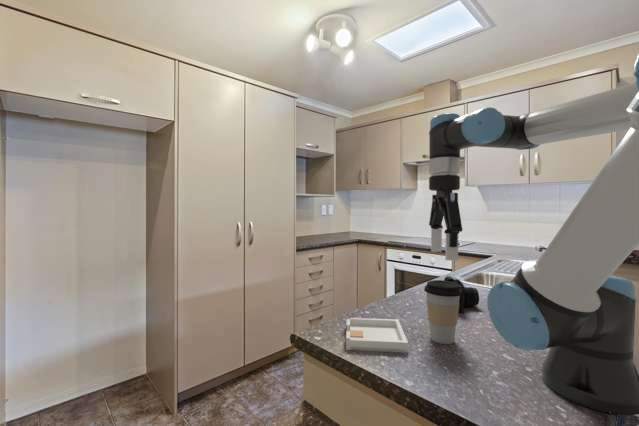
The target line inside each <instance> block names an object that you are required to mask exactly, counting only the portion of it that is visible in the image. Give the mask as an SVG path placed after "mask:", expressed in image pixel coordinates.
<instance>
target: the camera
mask: <svg viewBox="0 0 639 426" xmlns="http://www.w3.org/2000/svg"><path fill="white" fill-rule="evenodd" d="M443 281H450V282H454V283H457V284H458V285H459V288H460V289H461V290H462V295H460V298H459V311H458V314H463V313H464V306H465V307H466V306H467V307H474V306H478V305H479V303H480V294H479V291H478V289H477V288H476V287H471V286H470V287H467V286H465V285H464V284H463V282H462V281H461V280H460V278H459V279H455V278H453V277H452V276H450V275H446V277H444V280H443Z"/></svg>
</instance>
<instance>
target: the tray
mask: <svg viewBox="0 0 639 426" xmlns="http://www.w3.org/2000/svg"><path fill="white" fill-rule="evenodd" d="M345 336H346V337H345V348H346V349H345V350H346V351H361V352H383V353H385V352H386V353H403V354H405V353H406V354H408V353H409V341H408V339H407V337H406V335H405V332H404V330H403V327H402V325H401V322H400V320H399V319H396V318H395V319H391V318H367V317H366V318H364V317H350V318H346V333H345Z"/></svg>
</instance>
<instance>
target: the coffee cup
mask: <svg viewBox="0 0 639 426" xmlns="http://www.w3.org/2000/svg"><path fill="white" fill-rule="evenodd" d="M423 290H424V292H426V307H427V308H426V309H427V318H428V319H427V320H428V323H429V324H428V325H429V334H430V335H429V336H430V339H431V340H432V341H433V342H434V343H437V344H443V345H451V344H454V342H455V337H456V336H455V335H456V331H457V330H456V328H457V325H458V319H459V317H458V316H459V313H458V311H459V298H460V295H462V290H461V289H460V288H459V285H458V284H457V283H454V282H450V281H444V280H443V279H440V280H437V279H436V280H429V281H427V282H426V285H425V286H424V289H423Z"/></svg>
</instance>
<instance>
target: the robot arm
mask: <svg viewBox="0 0 639 426" xmlns="http://www.w3.org/2000/svg"><path fill="white" fill-rule="evenodd" d="M633 76H635V82H634V83H630V84H626V85H623V86H620V87H616V88H612V89H609V90H605V91H602V92H599V93H595V94H591V95H589V96H588V95H587V96H584V97H581V98H577V99H574V100H571V101H567V102H563V103H560V104H556V105H554V106H553V105H552V106H549V107H546V108H542V109H538V110H535V111H533V112H530V113H526V114H521V115H505V114H502V112H501V111H499V110H498V109H497V108H494V107H490V106H489V107H483V108H481V109H476V110H473V111H471V112H470V113H467V114H464V115H462V116H460V115H459V114H457V113H453V112H449V113H442V114H437V115H435V116H433V117H432V118H431V119H430V124H429V131H428V136H429V159H428V160H429V161H428V174H429V175H430V177H428V189H429V191H432V192H433V191H435V194H432V196H431V197H432V199H431V209H430V214H429V215H430V216H429V221H428V222H429V223H428V225H429V227H430V228H431V229H430V232H431V233H430V234H431V235H430V246H431V247H430V252H433V253H436V252H437V253H442V251H443V250H442V243H443V242H442V239H443V238H442V236H443V234H442V230H443V229H444V227H443V225H442V223H443V221H444V224H445V227H446V228H445V230H444V234H445V259H444V261H459V234H460V232H461V233H462V232H463V225H462V219H461V213H460V205H459V194H458V192H453V191H459V190H460V189H461V185H460V184H461V177H460V176H459V175H458V174H460V172H461V171H460V169H461V167H462V162H461V150H463V149H467V148H473V147H480V148H482V147H483V148H497V149H500V148H501V149H515V150H519V151H521V150H523V151H524V150H533V149H537V148H538V147H539V146H541V145H544V144H551V143H555V142H562V141H567V140H575V139H579V138H581V139H582V138H586V137H591V136H593V137H594V136H599V135H605V134H610V133H616V132H617V133H618V132H622V131H623V132H624V131H627V133H626V134H625V135H624V137H623V138H622V139H621V141H620V142H619V143H618V146H617V147H616V148H615V150H614V151H613V152H612V154H611V155H610V157H609V158H608V160H607V161H606V162H605V164H604V165H603V166H602V168H601V170H600V171H599V173H597V174H596V175H597V176H595V178H594V179H593V181H592V182H591V183H590V185H589V187H588V188H587V190H586V191H585V192H584V194H583V195H582V196H581V198H580V200H579V201H578V203H577V204H576V206H575V207H574V208H573V210H572V211H571V213H569V216H568V217H567V218H566V220H565V221H564V223H563V224H562V226H560V228H559V230H558V231H557V232H556V235H554V236H553V238H552V240H551V241H550V243H549V244H548V245H547V247H546V248H545V250H544V251H543V252H542V254H541V255H540V257H539V258H538V259H528V260H526V261H525V262H523V263H522V265H521V267H520V268H519V270H518V271H517V273H516V274H515V275H514V277H513V278H512V279H511V280H510V281H508V280H507V281H506V280H504V281H503V280H502V281H500V282H498V283H496V284H494V285H493V286H492V287H491V288H490V290H489V292H488V294H487V297H486V300H487V301H486V303H487V310H488V312H489V318H490V320H491V322H492V324H493V326H494V328H495V331H497V333H498V334H499V335H500V336H501V337H502V339H504V340H505V341H506V342H507V343H509V344H510V345H511V346H513V347H515V348H517V349H520V350H523V351H524V350H525V351H533V350H534V351H543V350H546V349H549V350H548V351H547V354H546V357H545V359H544V361H543V362H542V365H541V378H542V381H543V382H544V384H545V385H546V386H547V387H548V388H549V389H550V390H552V391H553V392H555V393H556V394H559V396H561V397H563V398H565V399H567V400H569V401H572V402H574V403H576V404H577V405H578V404H579V405H580V406H583V407H586V408H589V409H591V410H596V411H599V412H603V413H606V412H611V413H612V415H620V416H637V415H639V372H638V370H637V367H636V365H635V362H634V347H635V324H636V304H637V302H638V301H637V298H636V292H635V291H636V289H635V288H636V287H635V284H634V283H633V282H632V281H631V280H629V279H628V278H626V277H625V278H624V277H620V276H615V275H613V274H614V273H615V271H616V270H618V268H619V267H620V266H621V265H622V264H623V263H624V261H626V259H627V258H628V257H629V256H630V255H631V254H632V253H633V252H634V250H635V249H636V248H637V247H638V246H639V54H638V55H637V57H636V60H635V62H634V66H633ZM443 219H444V220H443ZM611 413H610V414H611Z"/></svg>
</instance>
